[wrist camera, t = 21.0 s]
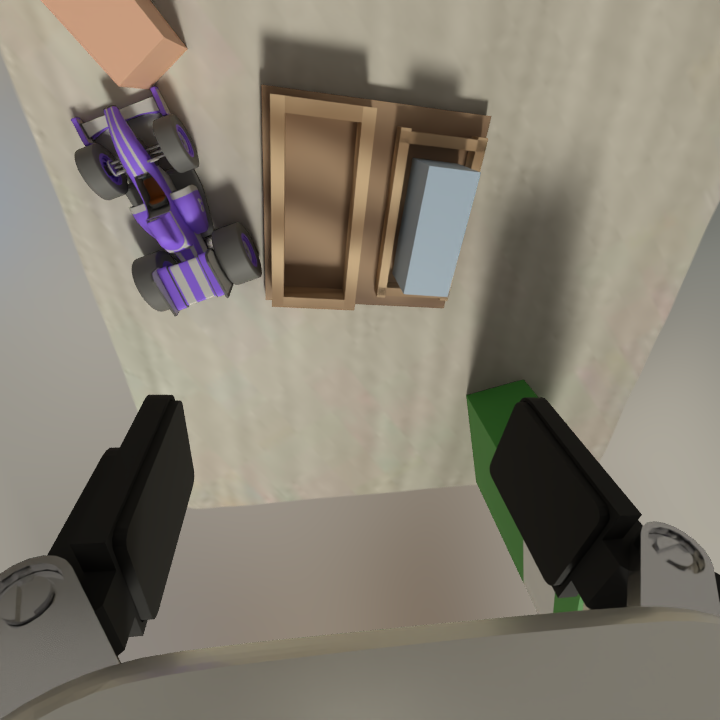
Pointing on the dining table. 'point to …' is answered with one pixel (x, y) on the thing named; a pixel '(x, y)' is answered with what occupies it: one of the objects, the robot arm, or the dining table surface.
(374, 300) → the jig
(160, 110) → the toy race car
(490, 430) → the hardback book
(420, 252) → the light blue block
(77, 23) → the salmon orange rectangular block
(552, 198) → the dining table surface
